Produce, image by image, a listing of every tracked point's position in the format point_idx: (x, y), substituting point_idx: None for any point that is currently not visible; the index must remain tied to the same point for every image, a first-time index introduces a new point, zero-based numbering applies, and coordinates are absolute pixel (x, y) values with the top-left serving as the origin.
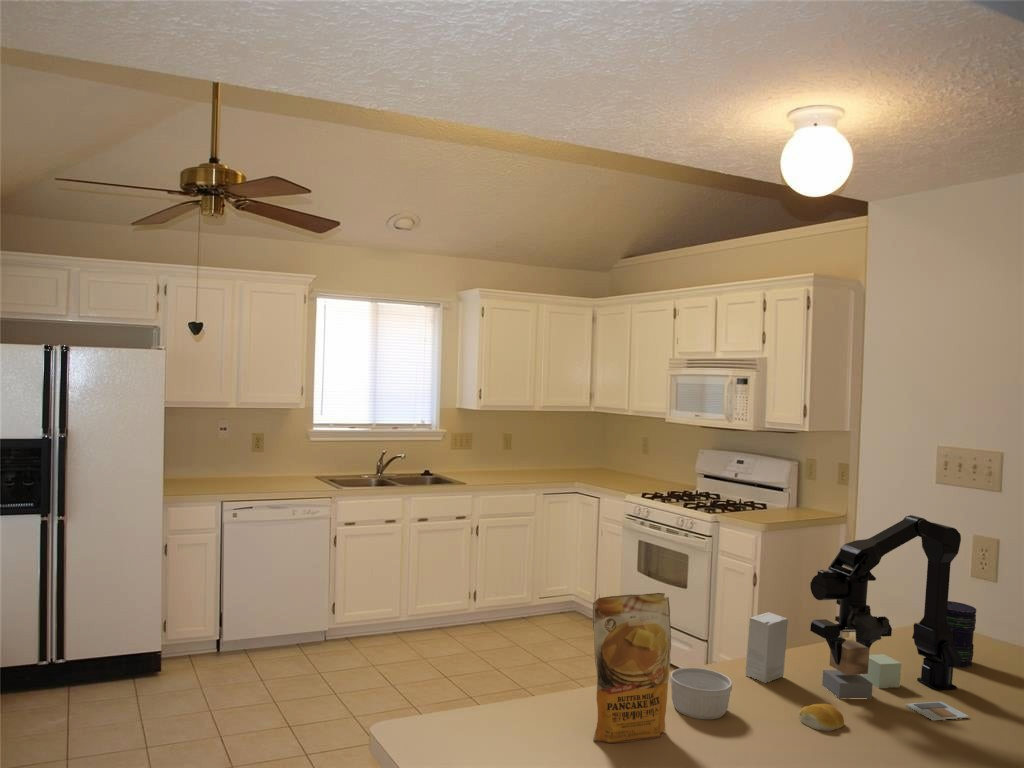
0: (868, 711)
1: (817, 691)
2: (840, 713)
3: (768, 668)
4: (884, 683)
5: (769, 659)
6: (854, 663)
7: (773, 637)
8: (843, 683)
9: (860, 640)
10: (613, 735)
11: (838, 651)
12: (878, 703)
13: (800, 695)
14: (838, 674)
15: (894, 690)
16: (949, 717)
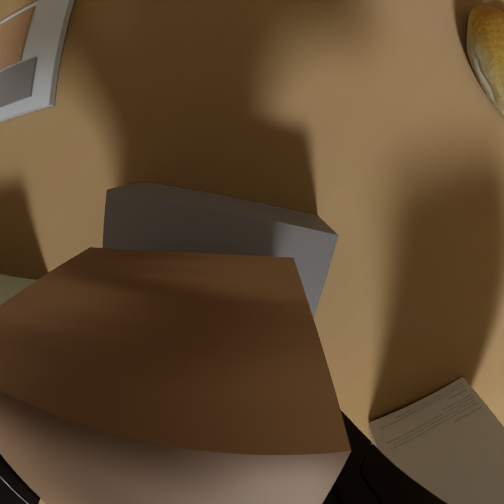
0: (271, 58)
1: (353, 308)
2: (496, 14)
3: (477, 410)
4: (24, 286)
5: (491, 431)
6: (193, 296)
7: None
8: (313, 229)
9: (3, 487)
10: None
11: (367, 453)
12: (144, 133)
13: (449, 281)
14: None
15: (14, 253)
16: (19, 11)
